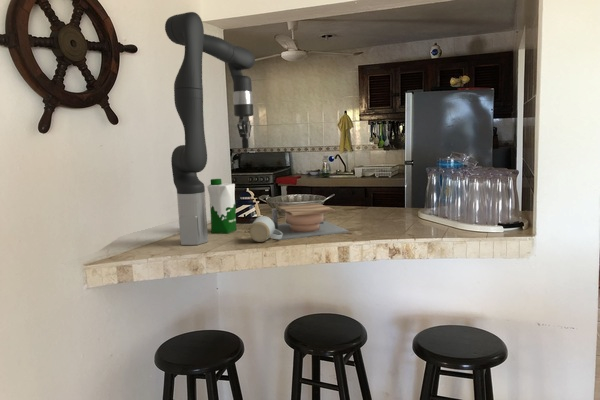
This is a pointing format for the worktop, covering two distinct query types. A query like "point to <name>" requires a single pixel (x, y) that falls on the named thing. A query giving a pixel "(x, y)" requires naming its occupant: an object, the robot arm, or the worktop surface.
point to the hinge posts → (275, 220)
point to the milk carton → (222, 206)
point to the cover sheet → (305, 209)
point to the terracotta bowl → (304, 222)
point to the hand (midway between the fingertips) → (245, 148)
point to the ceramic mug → (264, 229)
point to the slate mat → (324, 230)
